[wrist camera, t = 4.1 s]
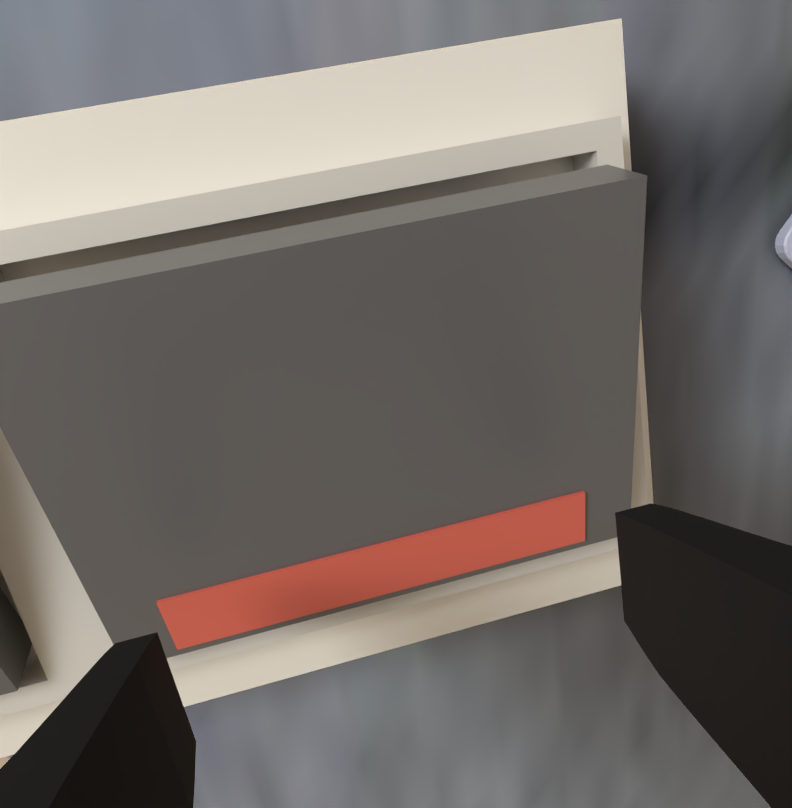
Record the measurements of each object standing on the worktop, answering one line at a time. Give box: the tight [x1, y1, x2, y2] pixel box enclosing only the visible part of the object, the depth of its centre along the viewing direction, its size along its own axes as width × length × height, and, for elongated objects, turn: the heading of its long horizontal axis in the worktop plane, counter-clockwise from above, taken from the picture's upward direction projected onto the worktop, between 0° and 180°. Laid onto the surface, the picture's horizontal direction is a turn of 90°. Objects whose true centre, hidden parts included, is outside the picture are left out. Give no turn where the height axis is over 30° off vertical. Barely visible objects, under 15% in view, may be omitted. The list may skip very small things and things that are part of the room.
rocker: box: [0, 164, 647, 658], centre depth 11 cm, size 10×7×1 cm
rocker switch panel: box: [0, 18, 653, 758], centre depth 13 cm, size 25×12×4 cm, turn 101°
